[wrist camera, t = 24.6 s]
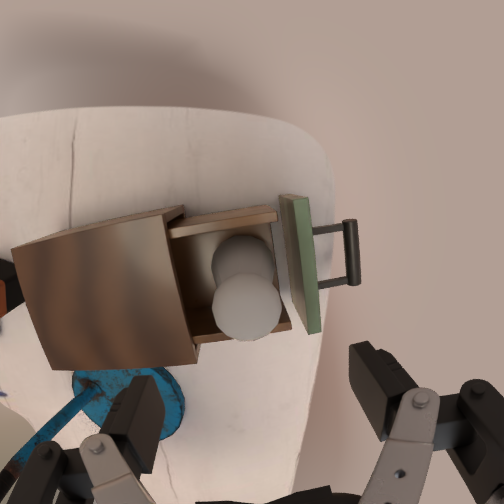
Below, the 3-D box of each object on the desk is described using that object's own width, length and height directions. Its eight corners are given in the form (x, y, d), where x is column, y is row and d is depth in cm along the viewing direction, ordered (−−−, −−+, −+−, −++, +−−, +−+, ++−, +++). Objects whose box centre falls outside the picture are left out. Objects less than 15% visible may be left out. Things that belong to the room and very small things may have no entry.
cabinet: (183, 204, 31) (162, 213, 21) (206, 317, 34) (197, 363, 24) (59, 231, 30) (10, 249, 21) (87, 330, 33) (52, 370, 24)
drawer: (336, 187, 30) (366, 190, 23) (345, 291, 33) (373, 320, 25) (148, 217, 30) (122, 228, 22) (172, 319, 33) (156, 356, 25)
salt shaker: (219, 225, 29) (208, 257, 17) (277, 237, 30) (308, 277, 17) (208, 281, 31) (191, 347, 18) (263, 293, 31) (281, 363, 19)
